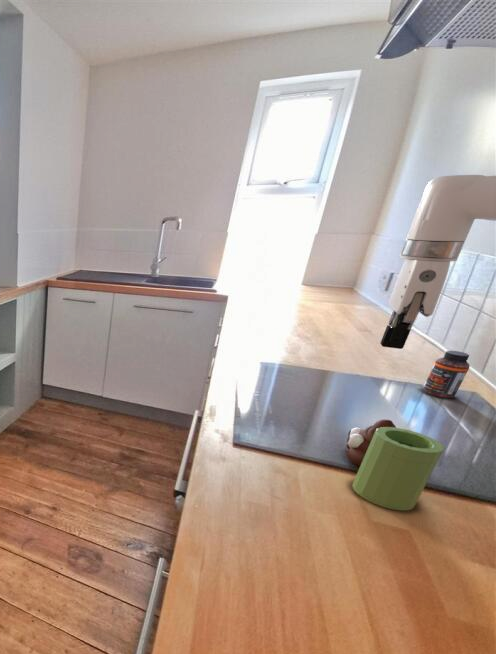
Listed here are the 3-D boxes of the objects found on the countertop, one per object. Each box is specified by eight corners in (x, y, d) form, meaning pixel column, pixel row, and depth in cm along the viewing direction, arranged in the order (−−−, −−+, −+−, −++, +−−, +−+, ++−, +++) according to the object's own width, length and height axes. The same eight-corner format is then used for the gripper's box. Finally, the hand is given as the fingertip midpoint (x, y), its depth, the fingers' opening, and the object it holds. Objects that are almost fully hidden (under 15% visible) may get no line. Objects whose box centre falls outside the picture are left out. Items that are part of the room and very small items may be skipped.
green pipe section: (372, 477, 74) (396, 424, 70) (426, 505, 67) (456, 447, 63) (341, 485, 72) (363, 430, 68) (393, 514, 65) (422, 456, 61)
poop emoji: (400, 482, 73) (422, 436, 69) (339, 464, 78) (356, 420, 74) (399, 458, 80) (419, 415, 76) (343, 443, 85) (359, 402, 81)
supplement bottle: (415, 390, 108) (434, 350, 104) (430, 388, 110) (449, 347, 106) (445, 400, 103) (465, 357, 99) (460, 397, 105) (481, 355, 100)
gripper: (473, 256, 67) (426, 361, 75) (447, 248, 79) (408, 340, 86) (411, 253, 71) (372, 353, 79) (394, 246, 83) (361, 334, 90)
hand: (391, 346), depth 82 cm, fingers closed
